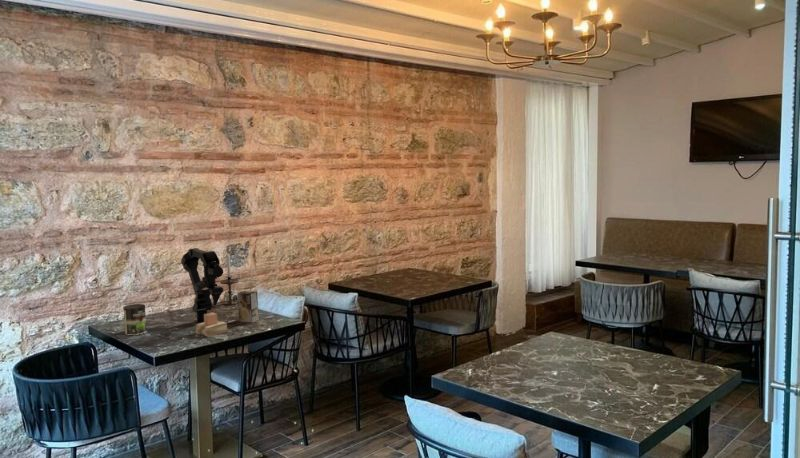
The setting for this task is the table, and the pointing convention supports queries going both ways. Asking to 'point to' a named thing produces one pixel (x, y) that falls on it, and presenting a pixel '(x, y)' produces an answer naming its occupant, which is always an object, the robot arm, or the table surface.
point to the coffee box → (248, 306)
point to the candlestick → (229, 283)
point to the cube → (210, 319)
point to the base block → (211, 329)
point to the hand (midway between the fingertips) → (211, 303)
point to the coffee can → (135, 319)
